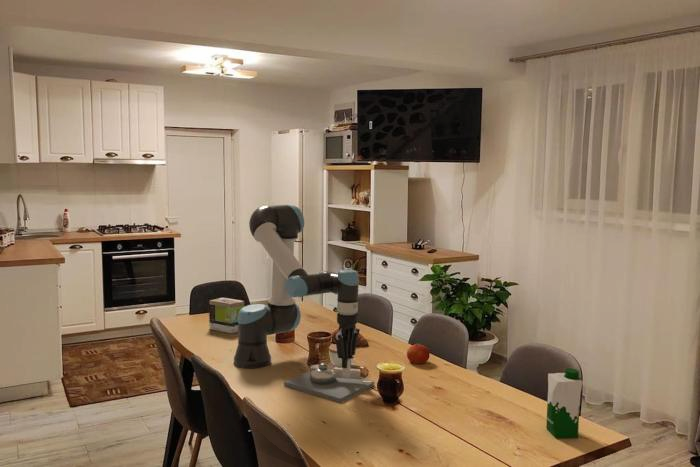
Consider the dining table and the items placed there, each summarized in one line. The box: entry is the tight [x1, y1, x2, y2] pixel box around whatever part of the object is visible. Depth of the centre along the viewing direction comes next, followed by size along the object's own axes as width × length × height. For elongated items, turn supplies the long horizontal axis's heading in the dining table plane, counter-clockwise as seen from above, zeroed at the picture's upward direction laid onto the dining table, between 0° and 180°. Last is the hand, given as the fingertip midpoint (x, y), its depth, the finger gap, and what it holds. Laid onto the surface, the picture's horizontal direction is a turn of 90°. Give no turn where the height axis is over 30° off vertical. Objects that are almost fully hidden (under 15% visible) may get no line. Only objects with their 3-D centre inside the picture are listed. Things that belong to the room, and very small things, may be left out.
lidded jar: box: [328, 343, 356, 367], centre depth 244 cm, size 11×11×9 cm
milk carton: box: [545, 368, 584, 439], centre depth 184 cm, size 9×9×20 cm
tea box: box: [208, 297, 245, 334], centre depth 295 cm, size 15×10×15 cm, turn 58°
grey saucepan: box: [309, 362, 368, 384], centre depth 222 cm, size 22×10×6 cm, turn 80°
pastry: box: [329, 328, 369, 347], centre depth 277 cm, size 17×15×8 cm
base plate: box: [283, 370, 375, 403], centre depth 221 cm, size 26×21×2 cm
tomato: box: [406, 343, 431, 364], centre depth 250 cm, size 9×9×8 cm
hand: (346, 375), depth 219 cm, fingers closed
